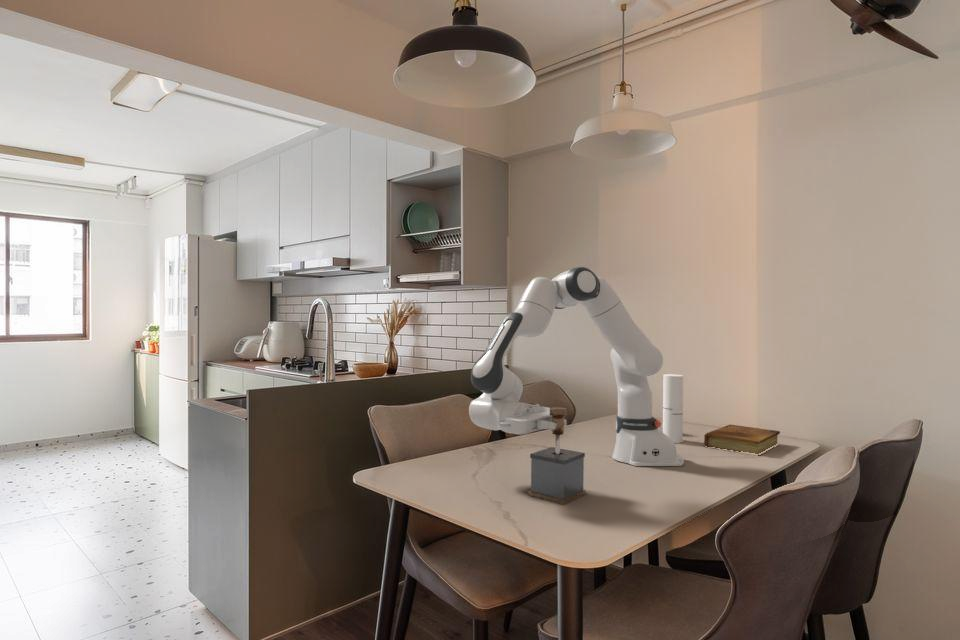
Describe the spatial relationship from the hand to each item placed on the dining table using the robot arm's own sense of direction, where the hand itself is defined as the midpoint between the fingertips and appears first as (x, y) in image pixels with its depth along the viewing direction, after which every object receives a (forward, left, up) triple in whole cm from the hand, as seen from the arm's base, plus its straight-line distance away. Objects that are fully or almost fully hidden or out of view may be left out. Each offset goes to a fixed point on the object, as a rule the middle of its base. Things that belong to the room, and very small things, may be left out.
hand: (560, 424), depth 150 cm
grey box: (+1, 0, -19) cm, 19 cm away
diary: (-64, -69, -19) cm, 97 cm away
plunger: (+1, 0, -15) cm, 15 cm away
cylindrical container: (-40, -72, -19) cm, 85 cm away
